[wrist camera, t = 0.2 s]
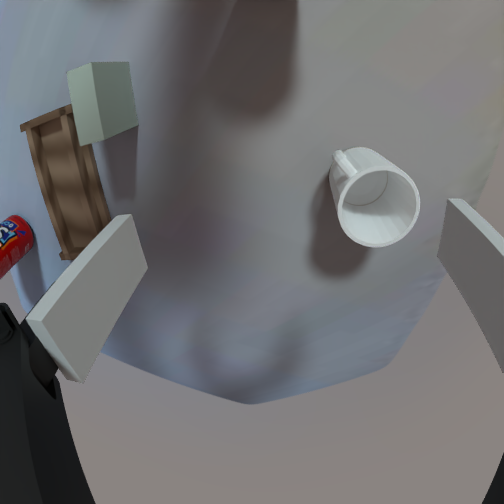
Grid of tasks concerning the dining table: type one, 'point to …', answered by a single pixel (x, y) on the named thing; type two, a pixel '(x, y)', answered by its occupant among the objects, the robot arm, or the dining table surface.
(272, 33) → the dining table surface
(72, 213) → the wooden tray
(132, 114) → the pale green block
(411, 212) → the mug
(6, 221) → the soda can
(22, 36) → the dining table surface
